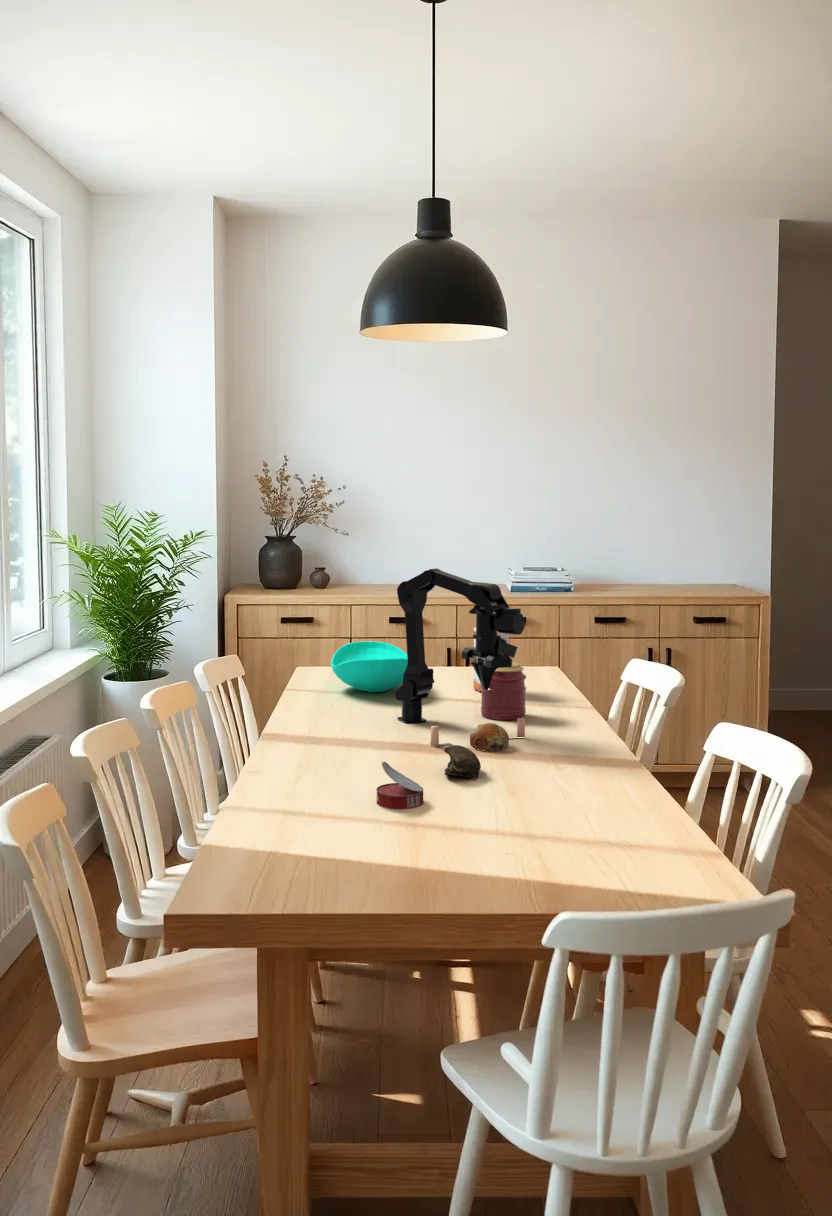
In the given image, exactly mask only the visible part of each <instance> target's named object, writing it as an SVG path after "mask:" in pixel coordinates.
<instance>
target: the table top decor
mask: <svg viewBox="0 0 832 1216" xmlns="http://www.w3.org/2000/svg"><path fill="white" fill-rule="evenodd" d="M407 664H408V659H407V652H405V651H403V649H401V648H399V647H398V646H396V645H393V644H392V643H388V642H382V641H355V642H349V643H346V644H344V645H342V646H340V647H339V648H338V649H337V650H336V651H335V652H334V654H333V656H332V658H331V661H330V665H331V669H332V672H333V674H334V675H335V676H336V677H337V678H338V679H339V680H340V681H341V682H343V683H344V684H346V685H348V686H350V687H352V688H354V689H355V690H359V691H363V692H365V691H368V692H367V693H376V692H377V693H379V692H380V693H382V692H385V691H387V690H390V689H393V688H396V687H398V686H401V685H403V674H404V672H405V669H406V667H407Z"/></svg>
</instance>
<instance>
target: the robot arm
mask: <svg viewBox="0 0 832 1216" xmlns="http://www.w3.org/2000/svg"><path fill="white" fill-rule="evenodd" d="M436 586H437V587H440V588H442V589H445V590H448V591H450V592H453V593H455V594H459V595H461V596H464V597H465V598H466V599H467V600H468V601H469V602H470V603H472V604H474V606H473V607H472V608H471V609H470V610H469V611H468V613H469V614H471V615H475V627H476V634H475V635H474V634H472V639H473V640H474V639H476V647H474V646H473V647H464V648H463V649H462V650H461V659H463V660H469V659H471V658H473V661H472V662H470V665H471V666H472V667H473V670H474V669H475V671H476V673H477V676H478V678H479V680H480V682H481V685H482V687H483V689H485V690H488V689H489V686H490V683H491V680H492V677H493V674H494V671H495V670H496V669H497V668H503V667H512V662H513V659H515V657H516V653H517V650H518V646H516V645H513V644H511V643H510V644H508V643H506V640H505V639H502V638H501V637H500V636H499V635H497V631H498V632H499V633H506V634H510V635H516V636H517V635H518V636H519V635H521V634H522V633H523V632H524V630H525V626H526V620H525V617H524V615H523V614H522V613H521V611H522V609H521V608H518V607H515V608H511V607H510V606H509V604H508V603H507V601H506V599H505V597H504V596H503V594H502V591H501V588H500V586H499V585H497V584H495V583H489V582H479V581H471V580H470V579H466V578H463V577H460V576H457V575H455V574H452V573H449V572H447V571H443V570H442V569H439V568H428V569H426V570H424V571H423V572H421V573H420V574H418V575H416V576H414V577H412V578H410V579H408V580H405V581H402V582H400V584H399V585H398V586H397V589H396V593H397V599H398V603H399V605H400V607H401V609H402V611H403V612H404V622H405V623H404V624H405V639H406V640H405V641H406V642H405V643H406V654H407V659H408V664H407V667H406V669H405V672H404V674H403V683H402V684H401V685H400V686H399V688H398V689H397V690H396V691H395V692H394V695H395V699H396V701H400V702H401V716H397V720H398V721H401V722H402V721H403V723H404V724H411V723H423V722H424V723H425V722H427V719H426V718H424V717H423V699H427V698H429V693H430V691H431V690H433V686H434V685H433V684H434V683H435V678H434V669H433V668H429V667H428V665H427V663H426V654H425V651H426V650H425V635H424V622H423V621H424V619H423V618H424V617H423V611H424V609H425V606H426V603H427V602H428V601H427V600H428V593H429V592H431V591H432V590H433V589H435V587H436ZM502 654H503V655H502ZM509 656H510V657H509ZM512 658H513V659H512Z"/></svg>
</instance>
